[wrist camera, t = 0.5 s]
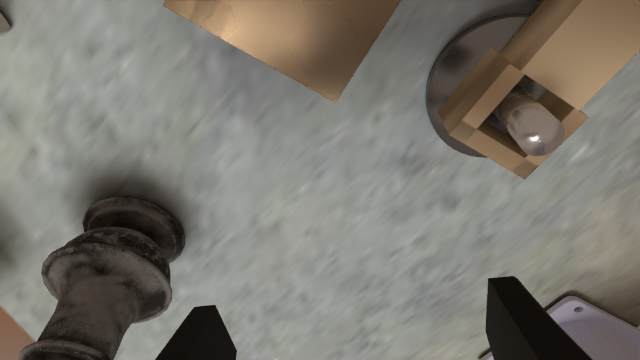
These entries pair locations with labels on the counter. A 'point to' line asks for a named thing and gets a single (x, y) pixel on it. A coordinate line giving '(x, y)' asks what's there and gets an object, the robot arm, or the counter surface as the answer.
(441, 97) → the pintle base
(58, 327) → the dark grey tall piece
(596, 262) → the counter surface
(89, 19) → the counter surface
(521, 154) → the link
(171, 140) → the counter surface
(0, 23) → the skincare box
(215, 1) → the keeper
